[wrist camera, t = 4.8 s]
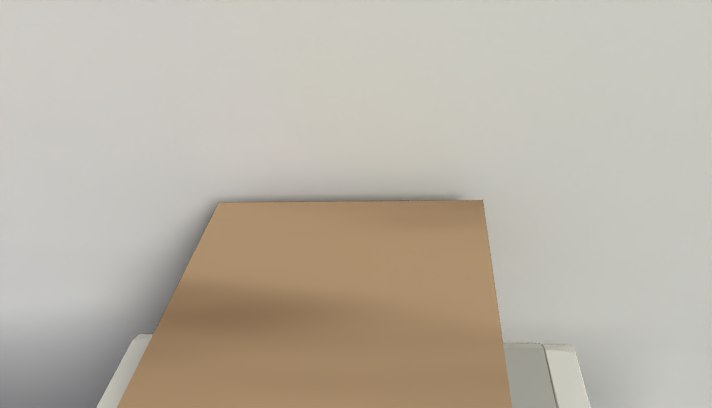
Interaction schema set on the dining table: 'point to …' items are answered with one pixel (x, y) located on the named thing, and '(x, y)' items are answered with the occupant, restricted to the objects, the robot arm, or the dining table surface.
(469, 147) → the dining table surface
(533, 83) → the dining table surface
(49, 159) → the dining table surface
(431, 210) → the walnut block
